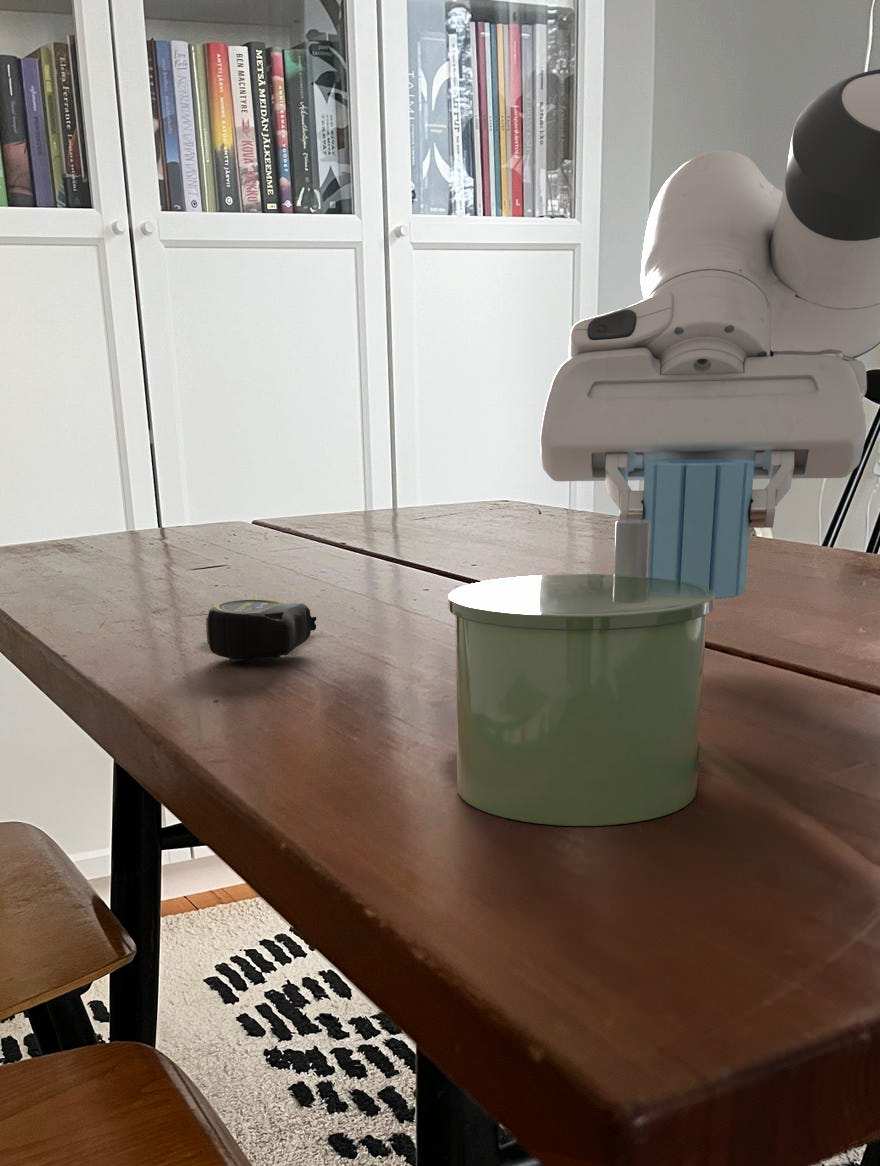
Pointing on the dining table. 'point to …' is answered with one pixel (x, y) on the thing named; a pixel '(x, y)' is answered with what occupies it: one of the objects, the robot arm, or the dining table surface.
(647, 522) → the pot
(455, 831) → the dining table surface
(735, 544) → the blue grooved hollow cylinder
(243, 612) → the tape measure
